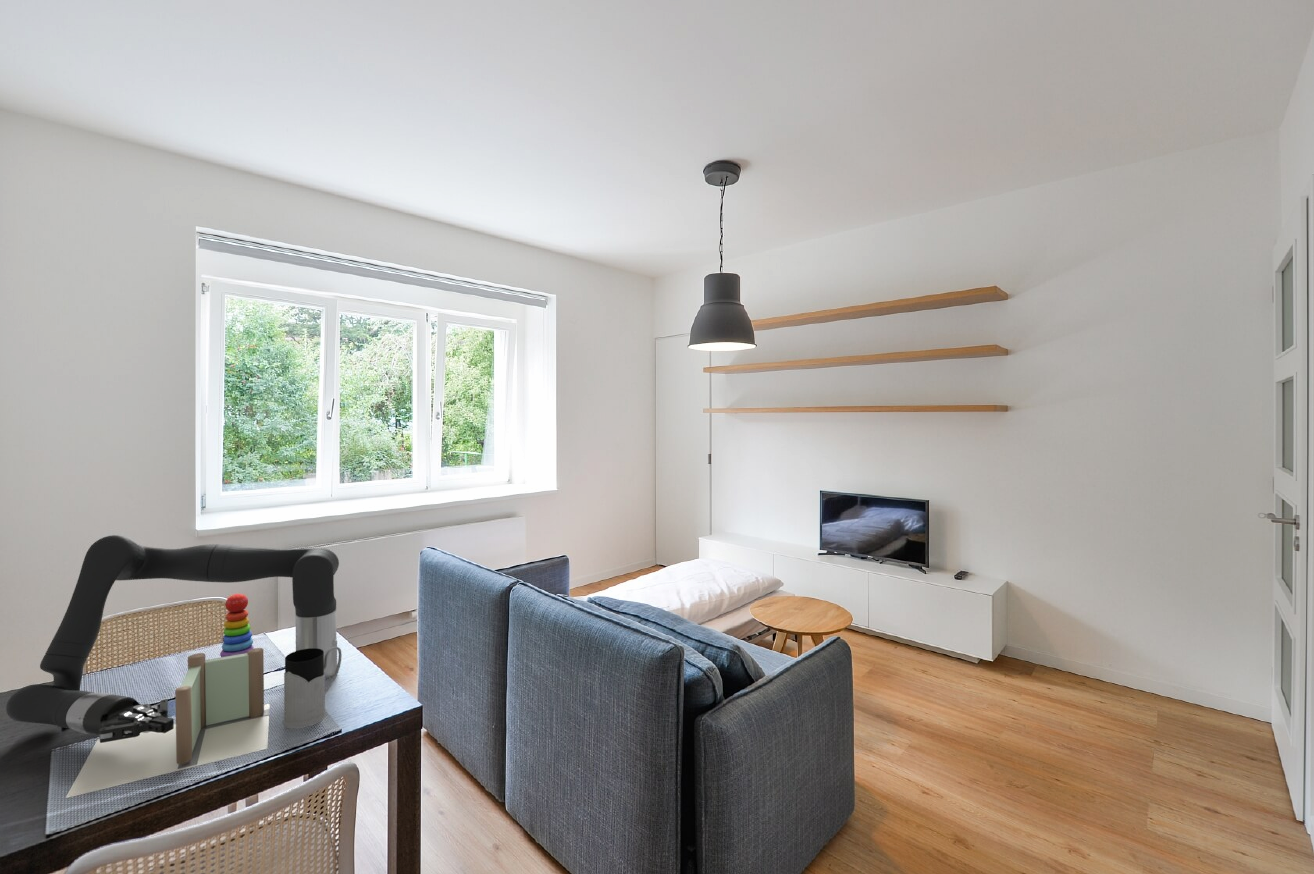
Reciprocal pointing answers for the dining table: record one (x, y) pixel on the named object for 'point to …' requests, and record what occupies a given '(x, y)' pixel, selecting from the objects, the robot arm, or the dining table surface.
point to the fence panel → (187, 715)
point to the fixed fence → (230, 686)
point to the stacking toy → (236, 627)
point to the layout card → (167, 753)
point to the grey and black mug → (306, 686)
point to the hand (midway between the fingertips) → (169, 726)
